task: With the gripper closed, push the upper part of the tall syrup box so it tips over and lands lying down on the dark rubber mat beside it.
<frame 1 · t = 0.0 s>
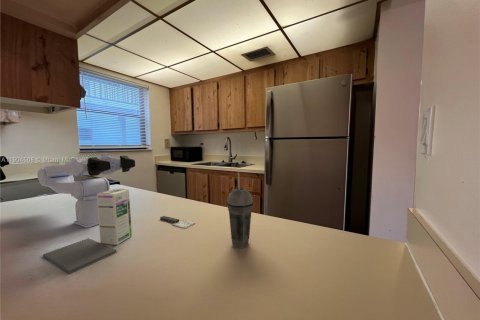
hand: (122, 164, 62), 22 cm above the countertop, tool horizontal, fingers open, 7 cm apart
beverage cup: (240, 244, 57), on the countertop
mat: (80, 254, 52), on the countertop
spatula: (175, 222, 73), on the countertop
syrup box: (116, 240, 60), on the countertop
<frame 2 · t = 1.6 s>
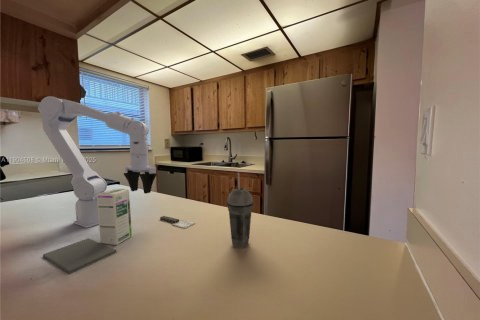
hand: (140, 191, 75), 10 cm above the countertop, tool pointing down, fingers open, 7 cm apart
nothing on the countertop moved.
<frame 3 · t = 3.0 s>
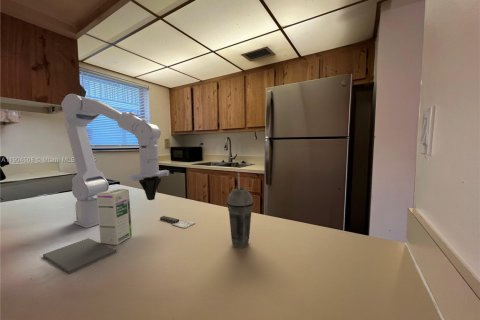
hand: (150, 199, 69), 9 cm above the countertop, tool pointing down, fingers closed
nothing on the countertop moved.
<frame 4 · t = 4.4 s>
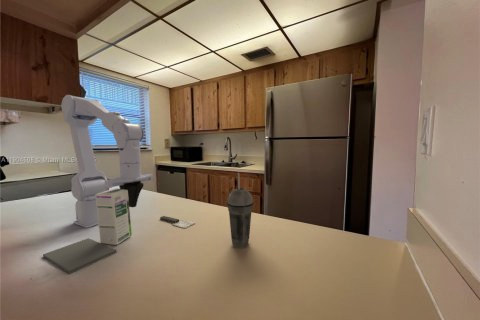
hand: (132, 206, 64), 8 cm above the countertop, tool pointing down, fingers closed
syrup box: (116, 240, 60), on the countertop, touching gripper
everything else where it was.
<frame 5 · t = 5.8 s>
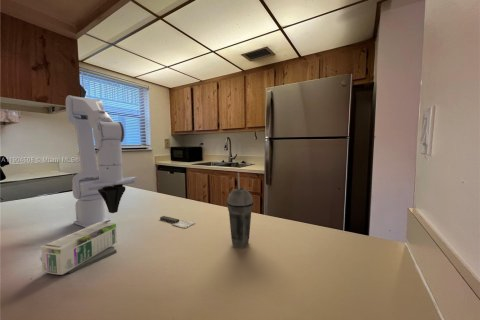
hand: (113, 212, 59), 8 cm above the countertop, tool pointing down, fingers closed
syrup box: (108, 231, 57), point 3 cm above the countertop, touching mat
everything else where it was.
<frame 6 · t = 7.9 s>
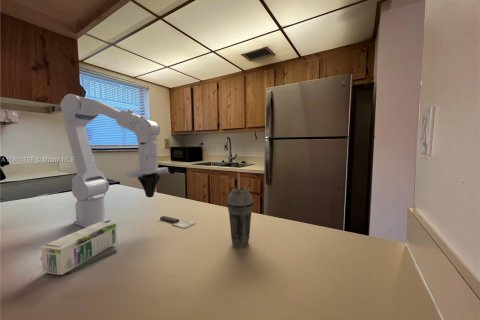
hand: (149, 196, 69), 10 cm above the countertop, tool pointing down, fingers closed
nothing on the countertop moved.
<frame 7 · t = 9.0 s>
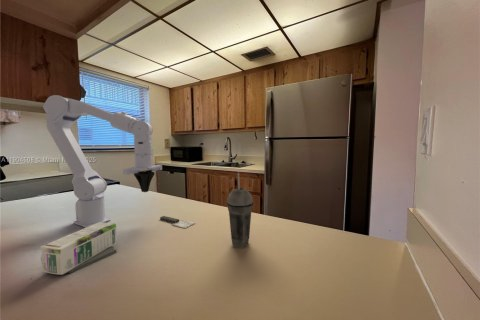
hand: (145, 191, 75), 10 cm above the countertop, tool pointing down, fingers closed
nothing on the countertop moved.
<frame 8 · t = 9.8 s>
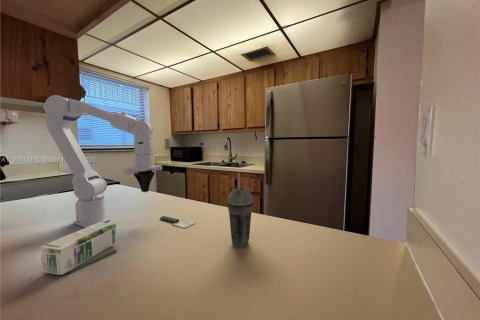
hand: (145, 191, 75), 10 cm above the countertop, tool pointing down, fingers closed
nothing on the countertop moved.
at the end: syrup box tilted 90°; syrup box inside the target area (3.2 cm from its centre), point 3.4 cm above the countertop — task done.
